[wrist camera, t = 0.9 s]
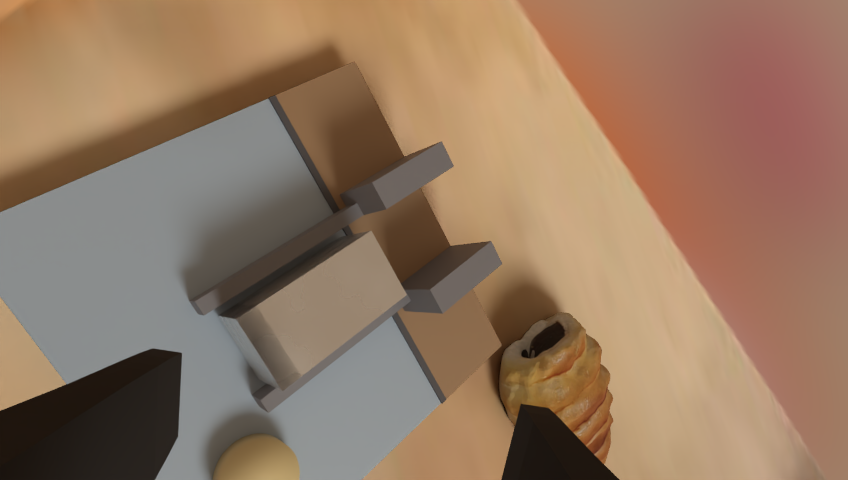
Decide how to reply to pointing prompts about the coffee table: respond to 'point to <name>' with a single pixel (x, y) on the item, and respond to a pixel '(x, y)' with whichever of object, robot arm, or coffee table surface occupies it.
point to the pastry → (560, 379)
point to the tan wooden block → (313, 308)
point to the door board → (256, 280)
